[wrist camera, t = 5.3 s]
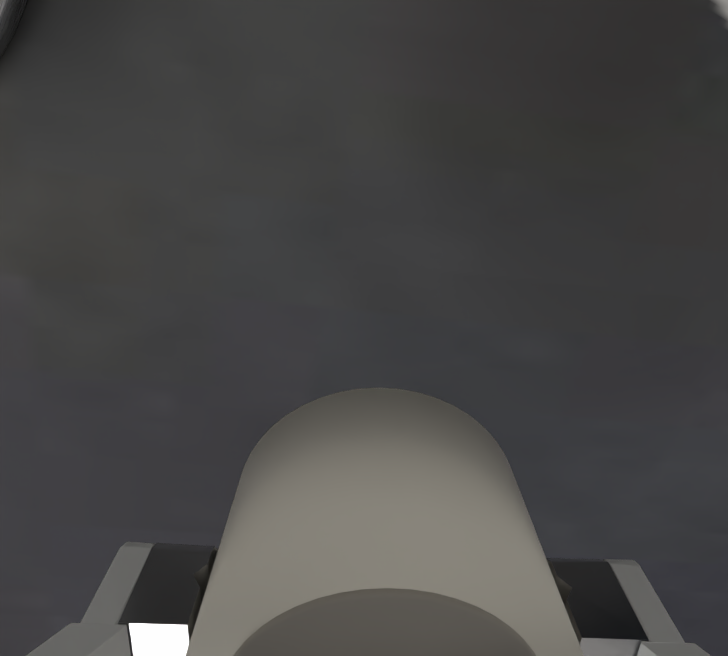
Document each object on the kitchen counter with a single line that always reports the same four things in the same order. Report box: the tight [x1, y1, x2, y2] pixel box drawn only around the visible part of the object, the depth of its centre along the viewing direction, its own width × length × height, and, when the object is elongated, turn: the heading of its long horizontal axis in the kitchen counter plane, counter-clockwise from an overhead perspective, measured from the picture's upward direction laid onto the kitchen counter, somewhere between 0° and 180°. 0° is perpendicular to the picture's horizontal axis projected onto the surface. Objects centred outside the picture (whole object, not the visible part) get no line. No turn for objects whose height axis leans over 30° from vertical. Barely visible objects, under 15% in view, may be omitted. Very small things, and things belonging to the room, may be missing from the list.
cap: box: [186, 388, 584, 656], centre depth 10 cm, size 6×6×4 cm
